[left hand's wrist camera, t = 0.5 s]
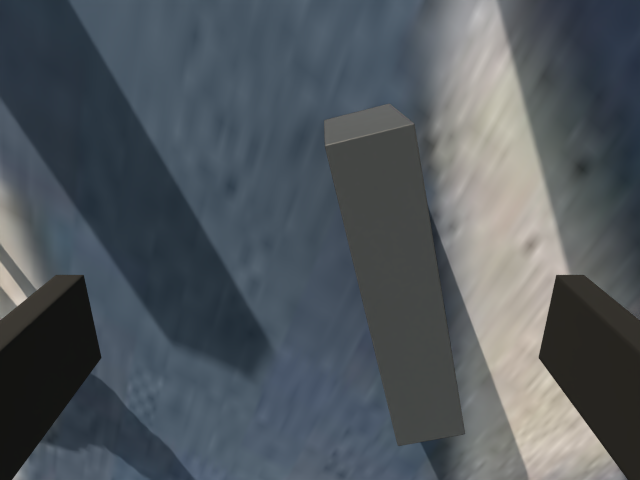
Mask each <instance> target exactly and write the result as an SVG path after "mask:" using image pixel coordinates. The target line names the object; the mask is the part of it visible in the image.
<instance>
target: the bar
mask: <svg viewBox="0 0 640 480" xmlns="http://www.w3.org/2000/svg"><path fill="white" fill-rule="evenodd" d="M324 130H325V149H326V153H327V157H328V161H329V165H330V169H331V173H332V177H333V182H334V186H335V190H336V194H337V198H338V202H339V206H340V210H341V214H342V219H343V223H344V227H345V231H346V235H347V239H348V243H349V247H350V251H351V255H352V260H353V264H354V268H355V272H356V276H357V280H358V284H359V288H360V292H361V297H362V301H363V305H364V309H365V313H366V317H367V321H368V325H369V329H370V334H371V338H372V342H373V346H374V350H375V354H376V358H377V362H378V366H379V371H380V375H381V379H382V383H383V387H384V391H385V395H386V399H387V403H388V408H389V412H390V416H391V420H392V424H393V428H394V432H395V436H396V440H397V445H398V446H401V445H407V444H413V443H418V442H424V441H429V440H435V439H441V438H446V437H452V436H457V435H463V434H465V430H464V424H463V418H462V412H461V406H460V400H459V394H458V387H457V381H456V375H455V369H454V363H453V357H452V351H451V345H450V339H449V333H448V326H447V320H446V314H445V308H444V302H443V296H442V290H441V284H440V278H439V272H438V266H437V259H436V253H435V247H434V241H433V235H432V229H431V223H430V217H429V211H428V205H427V198H426V192H425V186H424V180H423V174H422V168H421V162H420V156H419V150H418V144H417V138H416V131H415V125H414V123H413V122H411V121H410V120H409V119H408V118H407V117H405V116H404V115H403V114H402V113H400V112H399V111H398V110H397V109H395V108H394V107H393V106H392V105H391V104H386V105H382V106H378V107H374V108H371V109H367V110H363V111H359V112H355V113H351V114H347V115H343V116H339V117H335V118H331V119H327V120H324Z"/></svg>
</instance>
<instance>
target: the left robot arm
mask: <svg viewBox="0 0 640 480" xmlns="http://www.w3.org/2000/svg"><path fill="white" fill-rule="evenodd" d="M100 359H101V354H100V349H99V344H98V340H97V335H96V330H95V326H94V321H93V316H92V312H91V307H90V302H89V298H88V293H87V288H86V284H85V279H84V275H56V276H54V277H53V278H52V279H51V280H49V281H48V282H47V283H46V284H44V285H43V286H42V287H41V288H40V289H38V290H37V291H36V292H35V293H33V294H32V295H31V296H30V297H29V298H27V299H26V300H25V301H24V302H22V303H21V304H20V305H19V306H18V307H16V308H15V309H14V310H13V311H11V312H10V313H9V314H8V315H7V316H5V317H4V318H3V319H2V320H0V480H12V479H13V478H14V476H15V475H16V474H17V472H18V471H19V469H20V468H21V467H22V465H23V464H24V463H25V461H26V460H27V459H28V457H29V456H30V454H31V453H32V452H33V450H34V449H35V448H36V446H37V445H38V444H39V442H40V441H41V439H42V438H43V437H44V435H45V434H46V433H47V431H48V430H49V429H50V427H51V426H52V424H53V423H54V422H55V420H56V419H57V418H58V416H59V415H60V414H61V412H62V411H63V409H64V408H65V407H66V405H67V404H68V403H69V401H70V400H71V399H72V397H73V396H74V394H75V393H76V392H77V390H78V389H79V388H80V386H81V385H82V383H83V382H84V381H85V379H86V378H87V377H88V375H89V374H90V373H91V371H92V370H93V368H94V367H95V366H96V364H97V363H98V362H99V360H100ZM539 359H540V360H541V362H542V363H543V364H544V366H545V367H546V368H547V370H548V371H549V373H550V374H551V375H552V377H553V378H554V379H555V381H556V382H557V383H558V385H559V386H560V388H561V389H562V390H563V392H564V393H565V394H566V396H567V397H568V399H569V400H570V401H571V403H572V404H573V405H574V407H575V408H576V409H577V411H578V412H579V414H580V415H581V416H582V418H583V419H584V420H585V422H586V423H587V424H588V426H589V427H590V429H591V430H592V431H593V433H594V434H595V435H596V437H597V438H598V439H599V441H600V442H601V444H602V445H603V446H604V448H605V449H606V450H607V452H608V453H609V454H610V456H611V457H612V459H613V460H614V461H615V463H616V464H617V465H618V467H619V468H620V469H621V471H622V472H623V474H624V475H625V476H626V478H627V479H628V480H640V320H638V319H637V318H636V317H635V316H633V315H632V314H631V313H630V312H629V311H627V310H626V309H625V308H624V307H622V306H621V305H620V304H619V303H618V302H616V301H615V300H614V299H613V298H611V297H610V296H609V295H608V294H607V293H605V292H604V291H603V290H602V289H600V288H599V287H598V286H597V285H596V284H594V283H593V282H592V281H591V280H589V279H588V278H587V277H586V276H584V275H556V279H555V284H554V288H553V293H552V298H551V302H550V307H549V312H548V316H547V321H546V326H545V330H544V335H543V340H542V344H541V349H540V354H539Z"/></svg>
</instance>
